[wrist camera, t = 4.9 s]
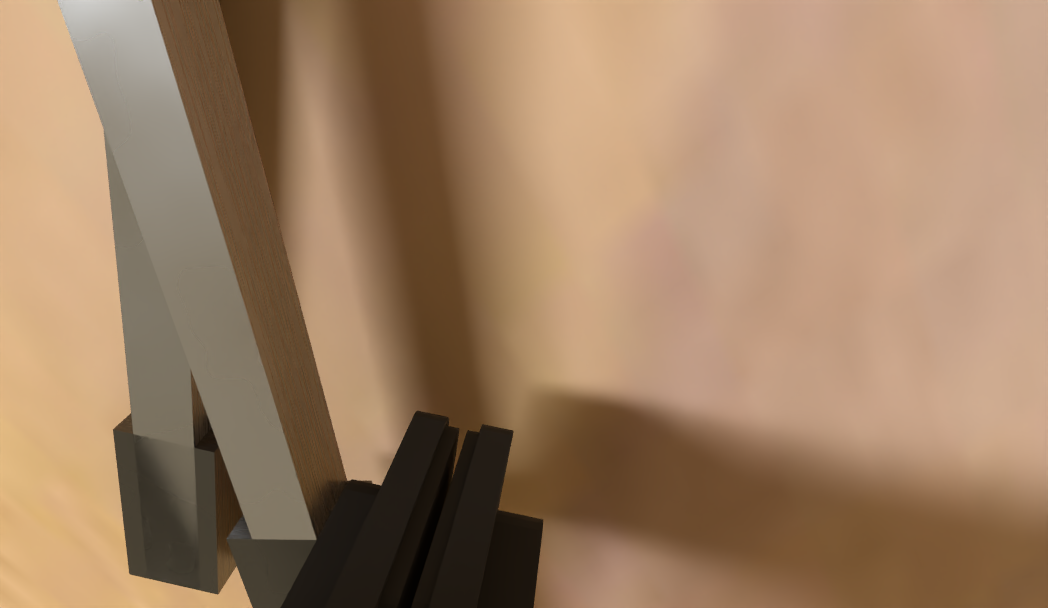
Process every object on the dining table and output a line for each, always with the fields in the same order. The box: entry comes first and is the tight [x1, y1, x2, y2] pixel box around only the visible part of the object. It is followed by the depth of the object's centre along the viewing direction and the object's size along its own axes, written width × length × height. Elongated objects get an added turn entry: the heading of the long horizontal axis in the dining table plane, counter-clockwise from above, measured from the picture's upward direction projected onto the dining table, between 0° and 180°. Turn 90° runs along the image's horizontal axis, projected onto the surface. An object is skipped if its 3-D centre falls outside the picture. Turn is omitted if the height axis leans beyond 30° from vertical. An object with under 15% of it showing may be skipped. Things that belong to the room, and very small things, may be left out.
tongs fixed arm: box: [104, 131, 243, 594], centre depth 10 cm, size 22×2×2 cm, turn 169°
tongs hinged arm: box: [57, 0, 372, 608], centre depth 8 cm, size 22×2×2 cm, turn 6°
